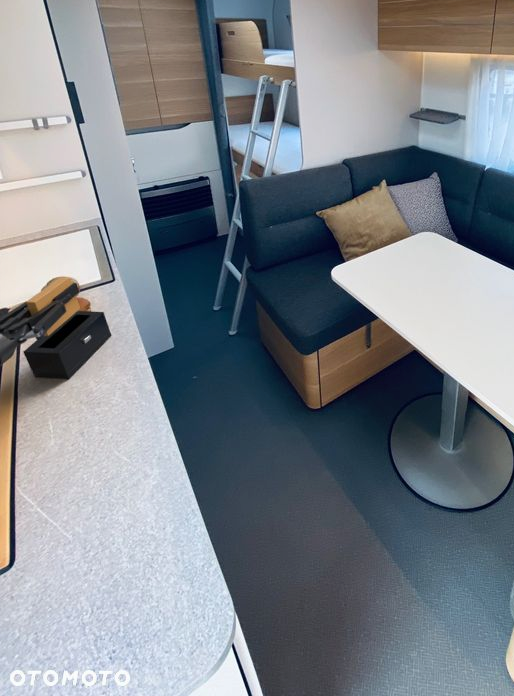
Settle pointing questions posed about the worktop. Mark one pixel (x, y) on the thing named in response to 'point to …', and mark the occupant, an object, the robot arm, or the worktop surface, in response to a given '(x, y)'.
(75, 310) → the toast
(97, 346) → the toaster
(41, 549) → the worktop surface
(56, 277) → the rock
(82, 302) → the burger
